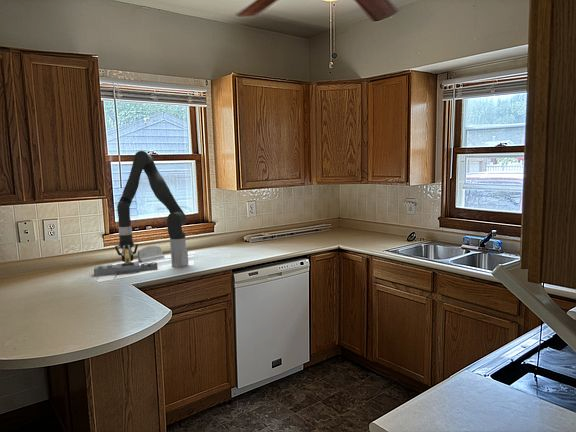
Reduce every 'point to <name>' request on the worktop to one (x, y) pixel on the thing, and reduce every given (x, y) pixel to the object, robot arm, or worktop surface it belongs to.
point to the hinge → (150, 254)
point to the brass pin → (127, 256)
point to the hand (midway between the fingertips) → (127, 261)
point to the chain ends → (124, 268)
